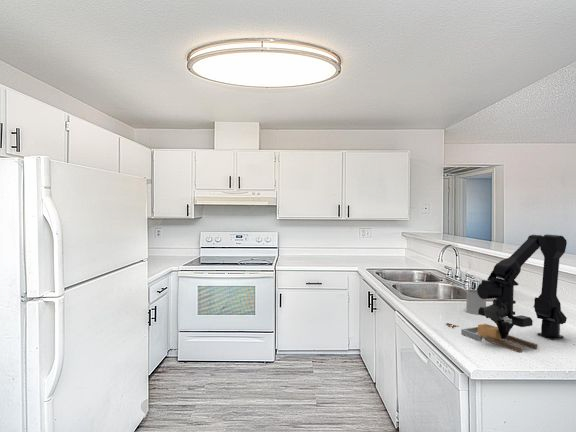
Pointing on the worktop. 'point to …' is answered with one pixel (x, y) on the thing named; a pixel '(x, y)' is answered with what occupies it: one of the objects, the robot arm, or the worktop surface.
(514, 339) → the slot guide
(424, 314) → the worktop surface
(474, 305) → the cup
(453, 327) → the hand saw
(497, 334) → the block
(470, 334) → the tray
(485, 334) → the block
